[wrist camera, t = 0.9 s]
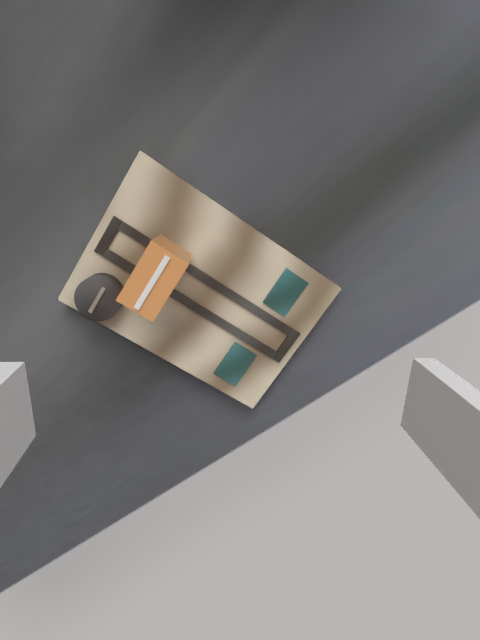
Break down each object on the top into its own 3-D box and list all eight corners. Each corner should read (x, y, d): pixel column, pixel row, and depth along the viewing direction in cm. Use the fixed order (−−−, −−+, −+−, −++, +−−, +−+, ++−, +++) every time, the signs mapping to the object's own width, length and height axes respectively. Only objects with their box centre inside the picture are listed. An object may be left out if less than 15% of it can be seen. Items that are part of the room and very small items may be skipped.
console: (65, 294, 35) (46, 306, 31) (144, 153, 32) (134, 146, 28) (250, 398, 39) (255, 421, 35) (334, 283, 36) (350, 294, 32)
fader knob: (129, 285, 32) (114, 301, 27) (160, 233, 31) (150, 240, 26) (161, 304, 33) (152, 323, 28) (192, 254, 32) (188, 265, 27)
